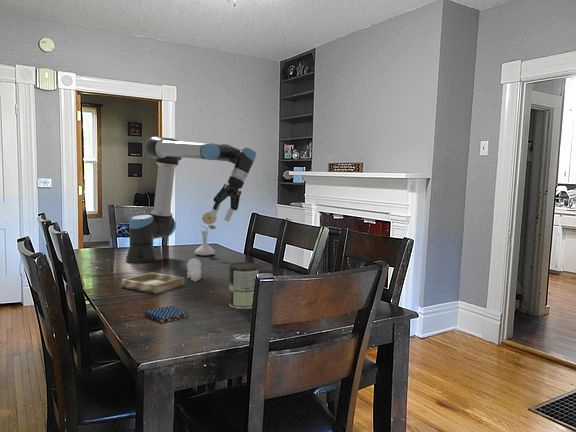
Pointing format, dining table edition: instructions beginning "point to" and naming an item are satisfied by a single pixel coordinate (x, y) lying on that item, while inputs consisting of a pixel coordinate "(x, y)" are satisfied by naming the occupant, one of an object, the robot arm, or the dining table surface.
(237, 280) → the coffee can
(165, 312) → the woven mat
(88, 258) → the dining table surface
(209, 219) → the flower in vase
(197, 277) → the white rounded lump
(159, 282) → the birch tray
